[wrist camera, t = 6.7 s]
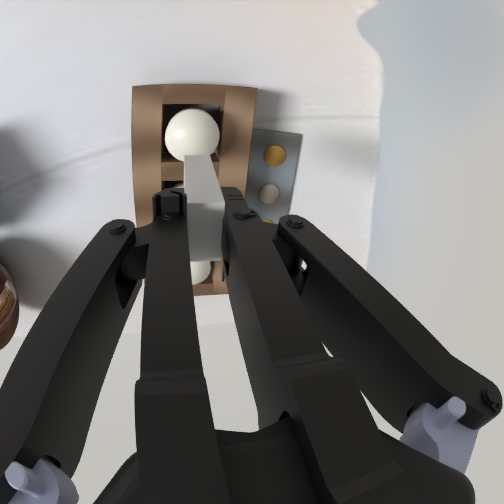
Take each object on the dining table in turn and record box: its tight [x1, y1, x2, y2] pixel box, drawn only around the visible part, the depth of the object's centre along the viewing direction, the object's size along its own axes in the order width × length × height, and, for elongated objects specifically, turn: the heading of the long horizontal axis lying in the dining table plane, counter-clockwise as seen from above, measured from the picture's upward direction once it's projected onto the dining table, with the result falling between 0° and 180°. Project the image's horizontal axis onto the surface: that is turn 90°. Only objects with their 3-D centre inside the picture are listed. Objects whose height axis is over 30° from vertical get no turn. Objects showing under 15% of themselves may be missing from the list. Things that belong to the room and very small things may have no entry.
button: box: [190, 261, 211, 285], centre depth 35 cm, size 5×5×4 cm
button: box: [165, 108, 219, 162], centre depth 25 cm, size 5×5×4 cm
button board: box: [131, 84, 301, 296], centre depth 32 cm, size 26×19×4 cm
